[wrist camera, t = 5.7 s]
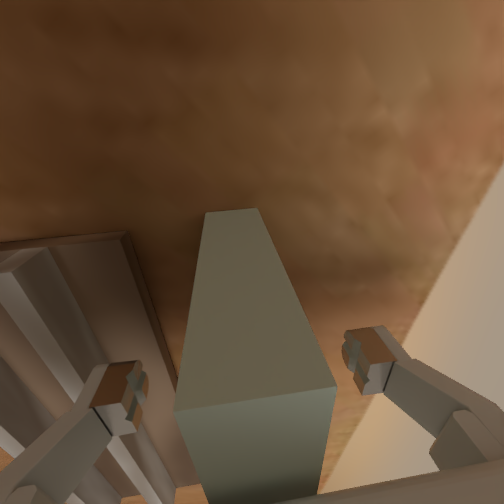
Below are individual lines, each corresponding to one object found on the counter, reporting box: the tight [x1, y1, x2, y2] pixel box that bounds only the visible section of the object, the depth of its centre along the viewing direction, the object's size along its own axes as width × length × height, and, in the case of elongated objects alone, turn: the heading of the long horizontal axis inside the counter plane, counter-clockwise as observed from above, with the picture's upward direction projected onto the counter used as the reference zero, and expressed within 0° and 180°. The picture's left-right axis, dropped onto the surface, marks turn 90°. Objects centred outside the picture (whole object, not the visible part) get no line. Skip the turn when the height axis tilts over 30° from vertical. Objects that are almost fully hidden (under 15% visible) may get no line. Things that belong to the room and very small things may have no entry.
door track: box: [0, 231, 201, 504], centre depth 16 cm, size 12×26×3 cm, turn 4°
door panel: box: [173, 208, 337, 504], centre depth 10 cm, size 2×9×9 cm, turn 3°
